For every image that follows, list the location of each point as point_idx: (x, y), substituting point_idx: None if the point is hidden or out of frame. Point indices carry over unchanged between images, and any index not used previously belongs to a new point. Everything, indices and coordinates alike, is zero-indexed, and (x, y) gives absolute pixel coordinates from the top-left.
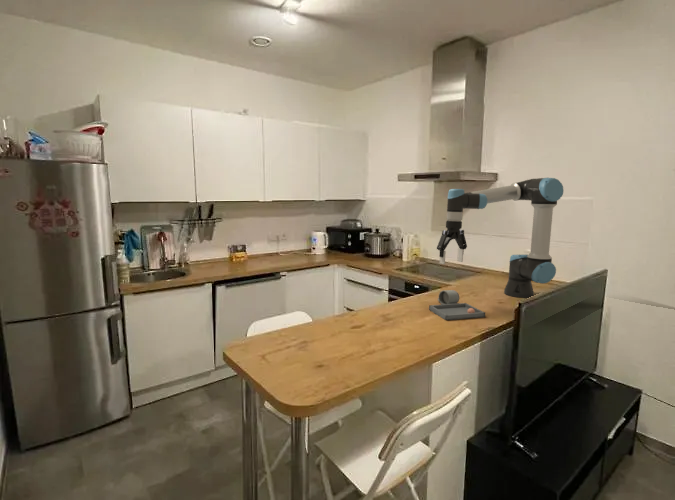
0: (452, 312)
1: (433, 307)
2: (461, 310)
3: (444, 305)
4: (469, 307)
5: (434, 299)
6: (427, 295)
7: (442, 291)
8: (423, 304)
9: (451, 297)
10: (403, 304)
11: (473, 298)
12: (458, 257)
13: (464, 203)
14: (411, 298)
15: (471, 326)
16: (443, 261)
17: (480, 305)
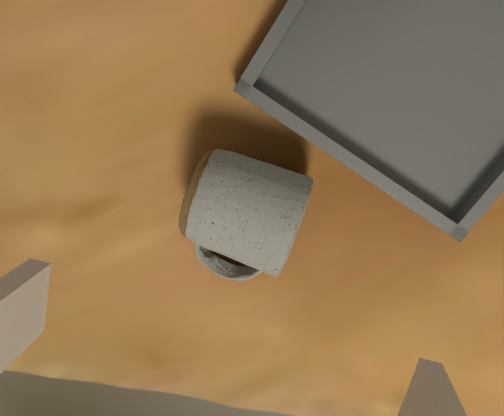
0: (436, 87)
1: (488, 201)
2: (352, 63)
3: (383, 173)
4: (283, 36)
5: (218, 305)
6: (170, 370)
7: (279, 261)
8: (365, 305)
9: (291, 176)
10: None
11: (7, 138)
12: (11, 348)
13: None
14: (298, 407)
15: None
16: (452, 396)
17: (122, 31)
